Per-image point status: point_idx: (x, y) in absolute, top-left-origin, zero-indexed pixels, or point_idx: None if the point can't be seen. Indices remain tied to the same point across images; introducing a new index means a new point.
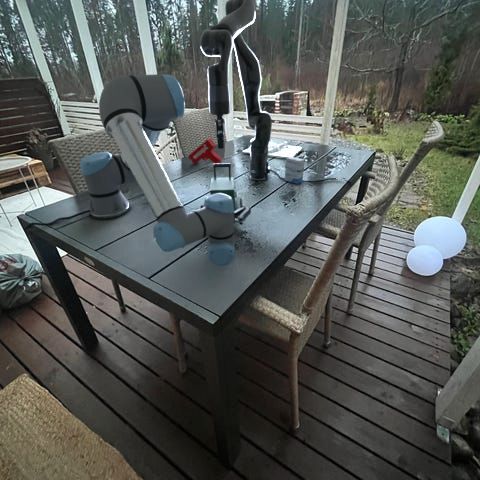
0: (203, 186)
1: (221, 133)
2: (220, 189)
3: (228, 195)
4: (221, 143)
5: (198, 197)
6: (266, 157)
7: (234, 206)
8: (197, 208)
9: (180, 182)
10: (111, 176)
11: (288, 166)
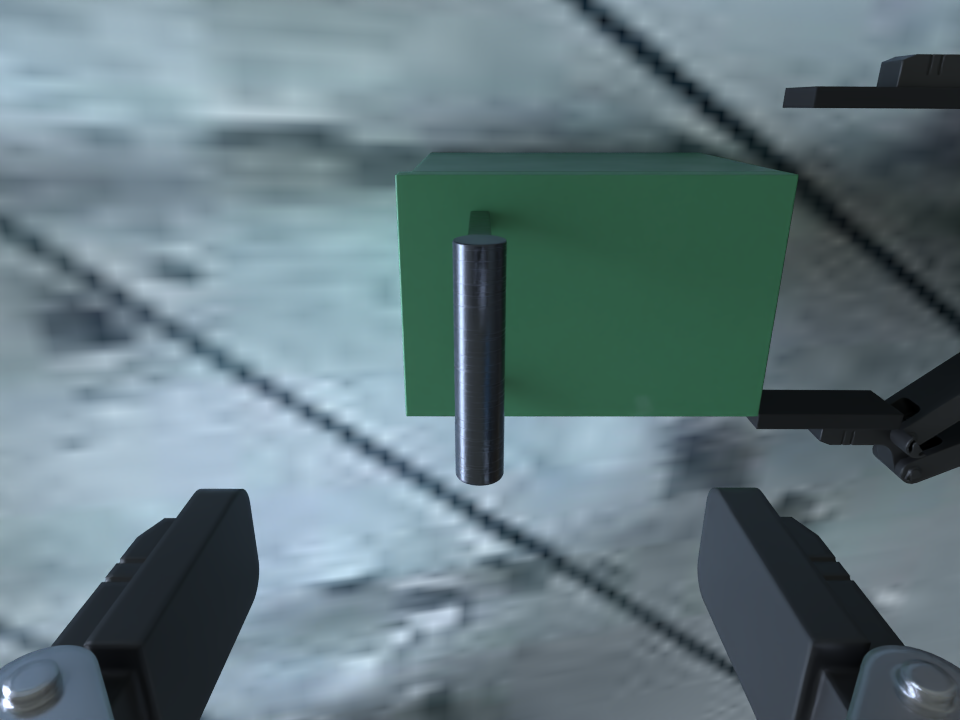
0: (112, 421)
1: (142, 699)
2: (761, 321)
3: None
4: (847, 597)
5: (346, 441)
6: None
7: (728, 159)
8: (920, 470)
9: (54, 593)
10: None
11: None
